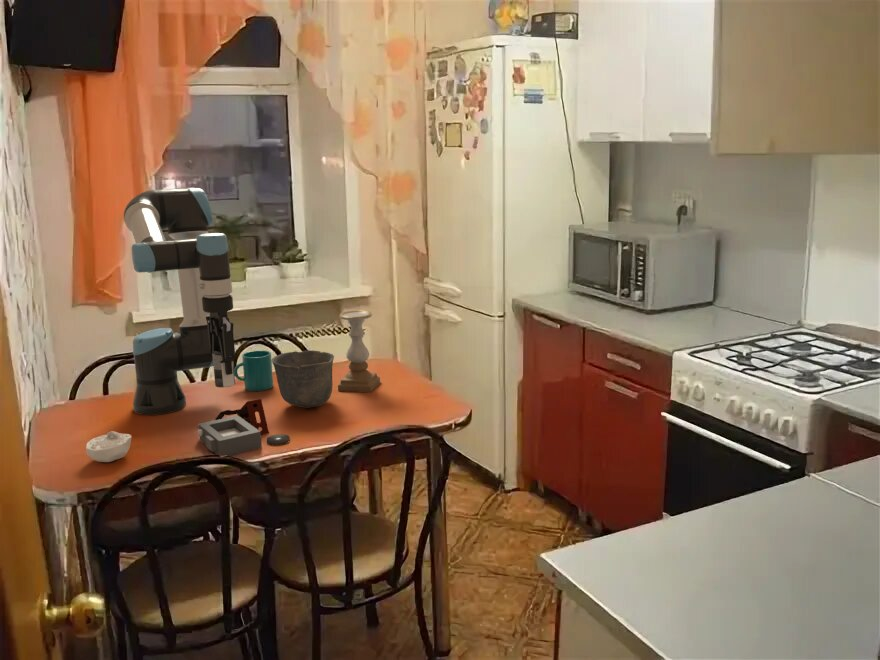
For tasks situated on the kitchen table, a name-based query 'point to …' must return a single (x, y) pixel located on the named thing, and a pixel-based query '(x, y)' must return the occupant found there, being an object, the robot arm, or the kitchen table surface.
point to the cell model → (108, 446)
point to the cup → (256, 370)
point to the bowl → (304, 377)
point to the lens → (219, 368)
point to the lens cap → (278, 439)
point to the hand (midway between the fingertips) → (224, 383)
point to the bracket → (250, 414)
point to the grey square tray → (229, 436)
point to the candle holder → (357, 356)
